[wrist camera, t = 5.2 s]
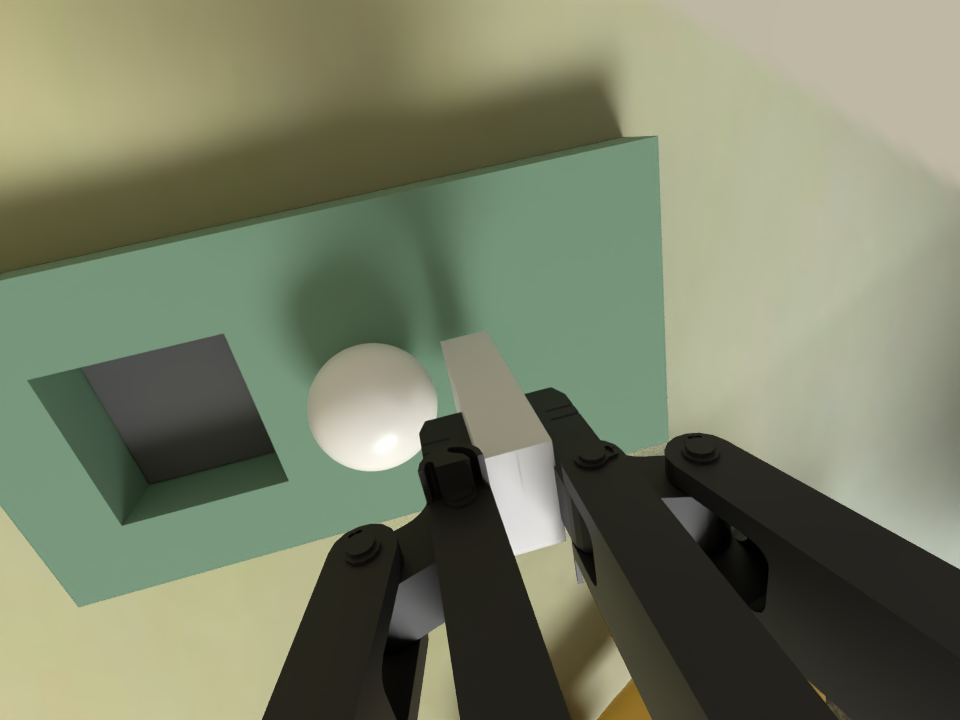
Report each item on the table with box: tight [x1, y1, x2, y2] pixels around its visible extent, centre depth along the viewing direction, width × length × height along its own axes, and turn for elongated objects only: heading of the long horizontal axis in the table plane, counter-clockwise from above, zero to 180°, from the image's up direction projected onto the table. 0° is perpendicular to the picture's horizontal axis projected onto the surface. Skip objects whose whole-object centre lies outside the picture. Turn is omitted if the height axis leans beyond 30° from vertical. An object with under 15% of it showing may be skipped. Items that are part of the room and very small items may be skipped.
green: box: [0, 136, 669, 607], centre depth 19 cm, size 24×12×2 cm, turn 101°
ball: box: [307, 343, 438, 471], centre depth 16 cm, size 4×4×4 cm
